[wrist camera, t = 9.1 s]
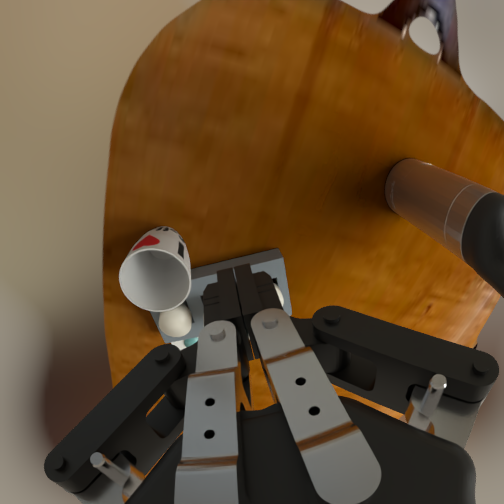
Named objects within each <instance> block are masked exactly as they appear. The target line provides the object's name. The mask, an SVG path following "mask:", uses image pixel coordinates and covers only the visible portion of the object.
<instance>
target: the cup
mask: <svg viewBox="0 0 504 504" xmlns="http://www.w3.org/2000/svg"><path fill="white" fill-rule="evenodd" d="M119 282H120V286H121V289H122V291H123V293H124V294H125V296H126V297H127V298H128V299H129V300H130V301H131V302H132V303H133V304H135V305H136V306H138V307H140V308H142V309H145V310H148V311H153V312H163V311H169V310H172V309H174V308H176V307H178V306H179V305H181V304H182V303H183V302H184V301H185V300H186V298H187V297H188V295H189V293H190V290H191V269H190V259H189V255H188V251H187V248H186V244H185V242H184V240H183V239H182V238H181V236H180V235H179V234H178V232H177V231H175V230H174V229H172V228H170V227H166V226H161V227H157V228H155V229H152V230H150V231H148V232H147V233H145V234H144V235H143V236H142V237H141V238H140V239H139V240H138V241H137V242H136V243H135V245H134V246H133V247H132V249H131V250H130V252H129V254H128V255H127V257H126V259H125V260H124V262H123V264H122V266H121V268H120V272H119Z"/></svg>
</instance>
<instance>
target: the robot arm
mask: <svg viewBox="0 0 504 504" xmlns="http://www.w3.org/2000/svg"><path fill="white" fill-rule="evenodd" d="M385 196H386V200H387V203H388V205H389V207H390V208H391V209H392V210H393V211H394V212H395V213H397V214H398V215H400V216H401V217H403V218H404V219H406V220H407V221H409V222H410V223H412V224H413V225H415V226H416V227H417V228H419V229H420V230H422V231H423V232H425V233H426V234H427V235H429V236H430V237H432V238H433V239H434V240H436V241H437V242H439V243H440V244H441V245H443V246H444V247H445V248H447V249H448V250H450V251H451V252H452V253H454V254H455V255H456V256H458V257H459V258H460V259H462V260H463V261H464V262H465V263H467V264H468V265H469V266H471V267H472V268H473V269H474V270H475V271H476V272H477V274H478V275H480V276H481V277H482V278H483V279H484V280H485V281H486V282H487V283H489V284H490V285H491V286H492V287H493V288H494V289H495V290H496V291H497V292H498V293H499V294H500V295H501V296H502V297H503V298H504V195H502V194H500V193H497V192H495V191H493V190H491V189H489V188H487V187H484V186H482V185H480V184H477V183H475V182H473V181H470V180H468V179H466V178H463V177H461V176H458V175H456V174H453V173H451V172H448V171H446V170H443V169H441V168H438V167H435V166H433V165H430V164H428V163H425V162H422V161H419V160H417V159H411V158H410V159H405V160H402V161H400V162H399V163H397V164H396V165H395V166H394V167H393V168H392V170H391V171H390V173H389V175H388V177H387V180H386V185H385ZM234 271H235V275H234ZM234 271H233V268H232V267H231V268H227V269H222V270H218V271H217V282H215V283H211V284H207V286H206V288H205V290H204V291H203V300H204V301H203V306H204V327H203V329H202V330H201V331H200V333H199V337H198V341H197V342H196V343H194V344H193V345H191V346H189V347H187V348H184V349H182V350H180V349H179V348H178V347H177V346H175V345H172V344H164V345H160V346H158V347H156V348H154V349H153V350H151V351H150V352H149V353H148V354H147V355H146V356H145V357H144V358H143V359H142V360H141V361H140V362H139V363H138V364H137V365H136V366H135V367H134V368H133V369H132V370H131V371H130V372H129V373H128V374H127V375H126V376H125V377H124V378H123V379H122V380H121V381H120V382H119V383H118V384H117V385H116V386H115V387H114V388H113V389H112V390H111V391H110V392H109V393H108V394H107V395H106V396H105V397H104V398H103V400H102V401H101V402H100V403H99V404H97V406H96V407H94V409H93V410H92V411H91V412H90V413H89V414H88V415H87V416H86V417H85V418H84V419H83V420H82V421H81V422H80V423H79V424H78V425H77V426H76V427H75V428H74V429H73V430H72V431H71V432H70V433H69V434H68V435H67V436H66V437H65V438H64V439H63V440H62V441H61V442H60V443H59V444H58V445H57V446H56V447H55V448H54V449H53V450H52V451H51V452H50V453H49V454H48V456H47V457H46V460H45V463H44V469H45V473H46V475H47V477H48V478H49V479H50V480H52V481H53V482H55V483H56V484H58V485H59V486H61V487H63V488H64V490H66V491H67V492H68V493H70V494H72V495H73V496H75V497H77V498H78V499H79V500H80V501H81V503H82V504H476V503H475V483H476V472H475V467H474V464H473V461H472V459H471V457H470V456H469V454H468V453H467V452H466V451H465V450H464V448H465V445H466V443H467V440H468V438H469V435H470V433H471V430H472V427H473V424H474V422H475V419H476V416H477V413H478V410H479V408H480V406H481V404H482V403H483V401H484V400H485V398H486V396H487V395H488V393H489V391H490V389H491V388H492V386H493V384H494V382H495V380H496V378H497V377H498V374H499V366H498V363H497V361H496V360H495V359H494V358H493V357H492V356H491V355H489V354H488V353H485V352H482V351H478V350H476V349H472V348H469V347H466V346H462V345H459V344H456V343H453V342H449V341H446V340H443V339H440V338H436V337H433V336H430V335H427V334H424V333H420V332H417V331H414V330H411V329H408V328H405V327H402V326H398V325H395V324H392V323H389V322H386V321H383V320H380V319H377V318H374V317H371V316H368V315H365V314H362V313H359V312H356V311H352V310H349V309H346V308H343V307H340V306H326V307H323V308H321V309H319V310H317V311H316V312H315V313H314V315H313V317H312V318H311V319H299V318H294V317H291V316H289V315H288V314H287V313H286V312H285V311H284V309H283V307H282V304H281V301H280V299H279V296H278V294H277V291H276V289H275V286H274V284H273V281H272V278H271V276H270V275H269V274H267V273H266V272H265V271H261V272H257V273H252V270H251V267H250V263H247V264H243V265H239V266H235V267H234ZM235 277H236V279H235ZM249 338H250V339H249ZM250 342H251V344H250ZM251 345H252V349H253V352H254V356H255V359H258V358H260V361H261V364H262V368H263V372H264V375H265V378H266V381H267V384H268V386H269V389H270V392H271V395H272V398H273V400H274V403H275V404H273V405H271V406H269V407H267V408H265V409H263V410H255V411H254V405H253V394H252V384H251V375H250V367H249V361H250V360H254V358H253V353H252V349H251ZM331 383H332V384H334V385H336V386H338V387H341V388H343V389H345V390H347V391H350V392H352V393H354V394H356V395H359V396H361V397H363V398H366V399H368V400H370V401H373V402H375V403H377V404H380V405H382V406H385V407H387V408H390V409H392V410H394V411H397V412H399V413H402V414H405V418H406V421H407V423H408V424H407V423H405V422H402V421H400V420H398V419H396V418H393V417H391V416H389V415H387V414H385V413H382V412H380V411H378V410H376V409H374V408H372V407H369V406H367V405H365V404H363V403H361V402H359V401H357V400H354V399H351V398H348V397H343V396H337V394H336V392H335V390H334V388H333V386H332V385H331ZM163 394H164V395H165V397H164V398H163V399H162V400H161V401H160V402H159V403H158V404H157V406H156V407H155V408H154V409H153V410H152V411H151V412H150V413H149V415H148V416H147V417H146V414H147V412H148V411H149V409H150V408H151V407H152V406H153V405H154V404H155V403H156V402H157V401H158V399H159V398H160V397H161V396H162V395H163ZM182 431H183V434H182V435H180V433H181V432H182ZM179 435H180V436H179ZM178 436H179V437H178ZM177 437H178V438H177ZM176 438H177V439H176ZM171 444H172V445H171ZM168 448H169V449H168ZM167 449H168V450H167ZM166 450H167V451H166ZM164 453H165V454H164ZM163 454H164V455H163ZM162 455H163V456H162ZM161 456H162V458H161ZM160 458H161V459H160ZM159 459H160V460H159ZM158 460H159V461H158ZM157 461H158V463H157V464H156V465H155V463H156V462H157ZM154 465H155V466H154ZM153 466H154V468H153V469H152V470H151V472H150V473H149V474H148V475H147V477H146V478H145V475H146V474H147V473H148V472H149V470H150V469H151V468H152V467H153Z"/></svg>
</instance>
